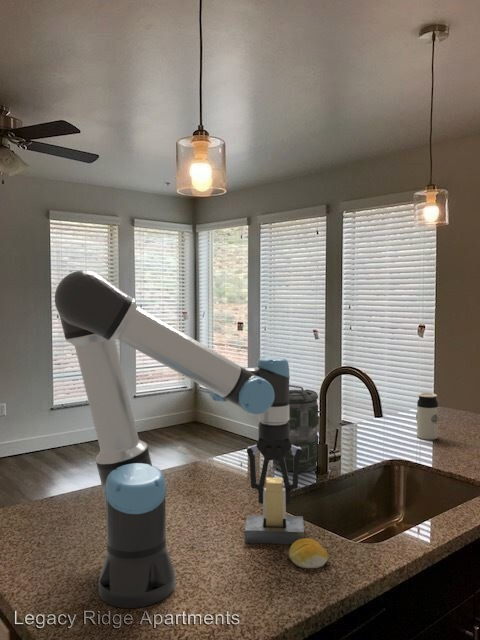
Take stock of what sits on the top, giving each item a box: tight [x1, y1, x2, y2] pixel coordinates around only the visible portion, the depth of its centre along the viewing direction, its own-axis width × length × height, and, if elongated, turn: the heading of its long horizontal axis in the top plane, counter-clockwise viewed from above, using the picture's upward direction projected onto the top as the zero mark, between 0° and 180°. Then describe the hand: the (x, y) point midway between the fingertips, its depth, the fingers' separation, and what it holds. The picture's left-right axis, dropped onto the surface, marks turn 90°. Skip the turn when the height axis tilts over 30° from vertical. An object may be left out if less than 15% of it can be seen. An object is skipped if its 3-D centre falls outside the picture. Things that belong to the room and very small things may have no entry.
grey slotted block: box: [244, 514, 305, 545], centre depth 130 cm, size 9×14×3 cm, turn 85°
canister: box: [272, 384, 319, 473], centre depth 183 cm, size 16×16×28 cm
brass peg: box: [265, 476, 284, 528], centre depth 129 cm, size 4×4×12 cm
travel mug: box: [416, 392, 439, 441], centre depth 219 cm, size 8×8×18 cm
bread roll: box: [288, 537, 329, 569], centre depth 118 cm, size 8×9×4 cm
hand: (274, 516), depth 130 cm, fingers closed on brass peg, 4 cm apart
